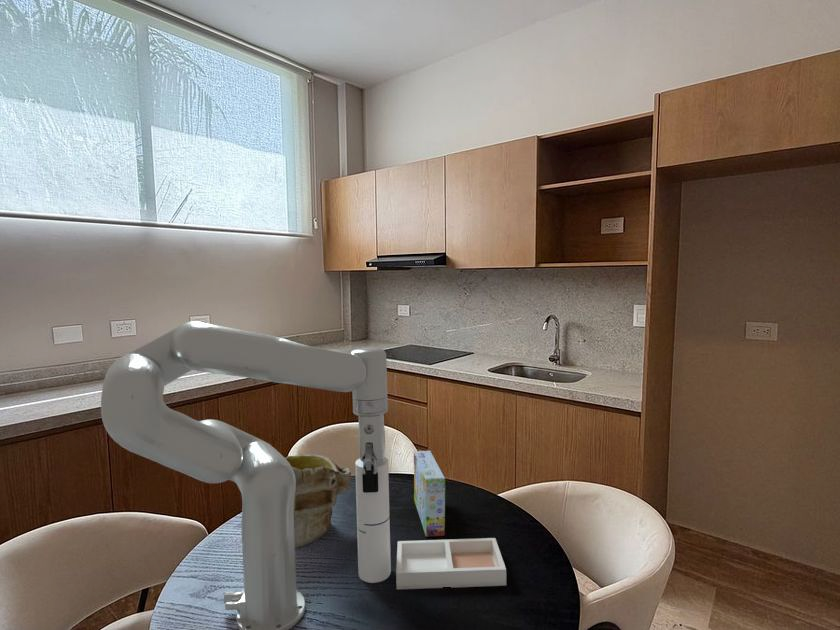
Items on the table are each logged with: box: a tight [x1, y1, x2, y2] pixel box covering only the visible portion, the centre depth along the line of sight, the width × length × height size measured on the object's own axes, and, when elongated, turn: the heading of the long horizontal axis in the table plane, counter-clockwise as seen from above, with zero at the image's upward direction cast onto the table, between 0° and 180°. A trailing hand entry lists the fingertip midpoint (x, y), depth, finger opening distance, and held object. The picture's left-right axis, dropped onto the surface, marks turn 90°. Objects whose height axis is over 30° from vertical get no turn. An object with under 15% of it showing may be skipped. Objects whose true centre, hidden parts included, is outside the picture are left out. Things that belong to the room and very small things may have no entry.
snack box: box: [413, 450, 446, 538], centre depth 123 cm, size 21×6×15 cm, turn 9°
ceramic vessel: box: [284, 453, 352, 549], centre depth 117 cm, size 23×24×25 cm
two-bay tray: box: [395, 537, 507, 590], centre depth 100 cm, size 23×12×4 cm, turn 91°
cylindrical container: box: [354, 456, 392, 584], centre depth 99 cm, size 7×7×25 cm
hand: (372, 481), depth 98 cm, fingers open, 9 cm apart
